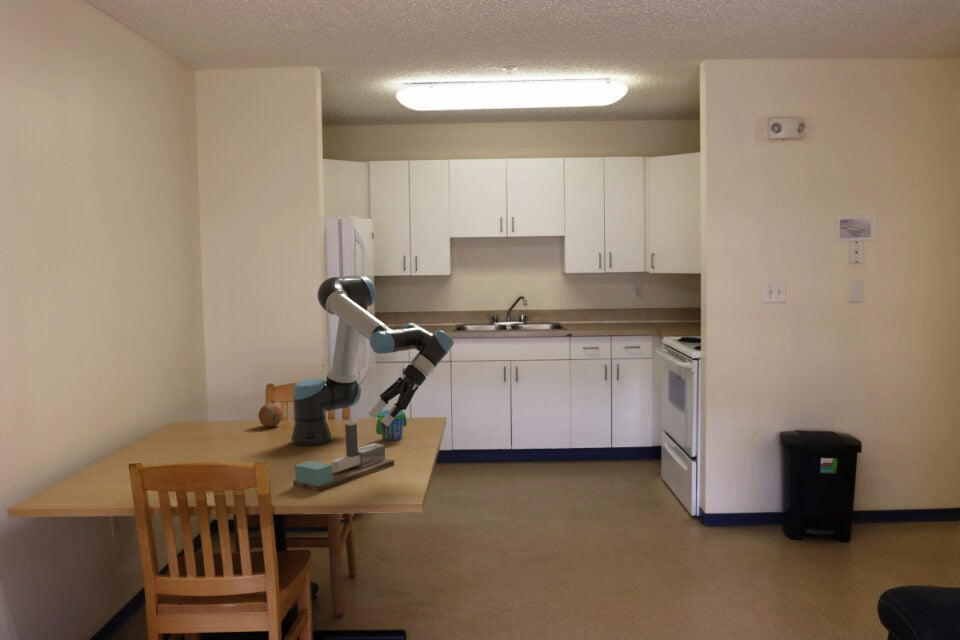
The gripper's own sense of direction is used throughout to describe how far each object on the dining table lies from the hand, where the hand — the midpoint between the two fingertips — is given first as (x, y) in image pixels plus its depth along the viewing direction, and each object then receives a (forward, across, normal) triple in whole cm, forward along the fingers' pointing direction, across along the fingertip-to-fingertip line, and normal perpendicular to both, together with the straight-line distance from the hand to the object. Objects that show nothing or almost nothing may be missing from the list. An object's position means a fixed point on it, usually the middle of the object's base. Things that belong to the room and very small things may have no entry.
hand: (377, 420), depth 255 cm
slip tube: (+14, +2, -5) cm, 15 cm away
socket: (+27, -8, +6) cm, 29 cm away
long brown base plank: (+20, -1, -3) cm, 20 cm away
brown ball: (+25, +86, +2) cm, 89 cm away
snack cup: (0, +38, -24) cm, 44 cm away
